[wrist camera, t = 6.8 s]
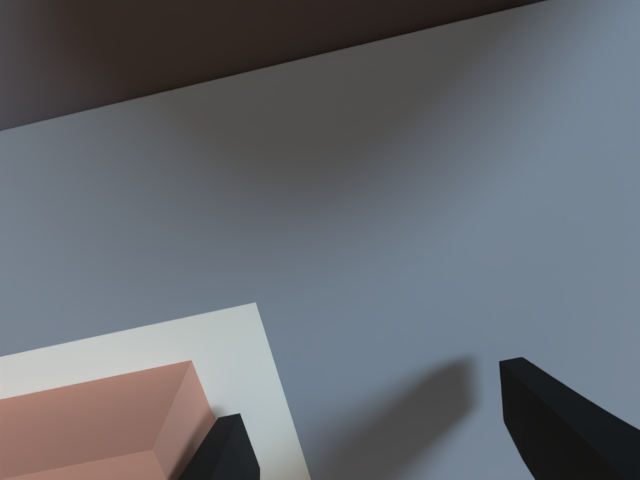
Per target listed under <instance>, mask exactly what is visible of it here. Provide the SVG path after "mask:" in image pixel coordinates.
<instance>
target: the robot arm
mask: <svg viewBox="0 0 640 480" xmlns="http://www.w3.org/2000/svg"><path fill="white" fill-rule="evenodd" d="M499 369H500V382H501V395H502V408H503V421H504V423H505V425H506V428H507V430H508V432H509V434H510V436H511V438H512V440H513V442H514V444H515V446H516V448H517V450H518V452H519V454H520V456H521V458H522V460H523V461H524V463H525V465H526V466H527V468H528V469H529V471H530V473H531V474H532V476H533V477H534V479H535V480H640V430H639V429H637V428H636V427H634V426H632V425H630V424H628V423H627V422H625V421H623V420H621V419H620V418H618V417H616V416H615V415H613V414H611V413H610V412H608V411H606V410H605V409H603V408H601V407H600V406H598V405H596V404H595V403H593V402H592V401H590V400H588V399H587V398H585V397H583V396H582V395H580V394H579V393H577V392H576V391H574V390H572V389H571V388H569V387H568V386H566V385H565V384H563V383H562V382H560V381H559V380H557V379H555V378H554V377H552V376H551V375H549V374H548V373H546V372H545V371H543V370H542V369H540V368H539V367H537V366H536V365H534V364H533V363H531V362H530V361H528V360H527V359H525V358H523V357H518V358H513V359H508V360H503V361H499ZM178 480H260V466H259V464H258V461H257V458H256V455H255V453H254V450H253V447H252V444H251V442H250V439H249V436H248V433H247V431H246V428H245V425H244V422H243V420H242V417H241V414H240V413H238V414H233V415H228V416H223V417H218V419H217V420H216V422H215V423H214V425H213V426H212V428H211V429H210V431H209V432H208V434H207V435H206V437H205V438H204V440H203V442H202V443H201V445H200V446H199V448H198V449H197V451H196V452H195V454H194V456H193V457H192V459H191V460H190V462H189V463H188V465H187V466H186V468H185V469H184V471H183V472H182V474H181V475H180V477H179V478H178Z"/></svg>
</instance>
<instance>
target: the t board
mask: <svg viewBox="0 0 640 480" xmlns="http://www.w3.org/2000/svg"><path fill="white" fill-rule="evenodd" d="M518 357H523V358H525V359H527V360H528V361H530V362H531V363H533V364H534V365H536V366H537V367H539V368H540V369H542V370H543V371H545V372H546V373H548V374H549V375H551V376H552V377H554V378H555V379H557V380H559V381H560V382H562V383H563V384H565V385H566V386H568V387H569V388H571V389H572V390H574V391H576V392H577V393H579V394H580V395H582V396H583V397H585V398H587V399H588V400H590V401H592V402H593V403H595V404H596V405H598V406H600V407H601V408H603V409H605V410H606V411H608V412H610V413H611V414H613V415H615V416H616V417H618V418H620V419H621V420H623V421H625V422H627V423H628V424H630V425H632V426H634V427H636V428H637V429H639V430H640V0H546V1H542V2H538V3H534V4H530V5H526V6H521V7H517V8H513V9H509V10H505V11H500V12H496V13H492V14H488V15H484V16H480V17H475V18H471V19H467V20H463V21H459V22H454V23H450V24H446V25H442V26H438V27H434V28H429V29H425V30H421V31H417V32H413V33H408V34H404V35H400V36H396V37H392V38H388V39H383V40H379V41H375V42H371V43H367V44H363V45H358V46H354V47H350V48H346V49H342V50H337V51H333V52H329V53H325V54H321V55H317V56H312V57H308V58H304V59H300V60H296V61H291V62H287V63H283V64H279V65H275V66H271V67H266V68H262V69H258V70H254V71H250V72H245V73H241V74H237V75H233V76H229V77H225V78H220V79H216V80H212V81H208V82H204V83H199V84H195V85H191V86H187V87H183V88H179V89H174V90H170V91H166V92H162V93H158V94H153V95H149V96H145V97H141V98H137V99H133V100H128V101H124V102H120V103H116V104H112V105H108V106H103V107H99V108H95V109H91V110H87V111H82V112H78V113H74V114H70V115H66V116H62V117H57V118H53V119H49V120H45V121H41V122H36V123H32V124H28V125H24V126H20V127H16V128H11V129H7V130H3V131H0V399H5V398H10V397H15V396H20V395H25V394H29V393H34V392H39V391H44V390H49V389H54V388H59V387H63V386H68V385H73V384H78V383H83V382H88V381H92V380H97V379H102V378H107V377H112V376H117V375H122V374H126V373H131V372H136V371H141V370H146V369H151V368H155V367H160V366H165V365H170V364H175V363H180V362H185V361H189V360H192V362H193V365H194V368H195V370H196V373H197V375H198V378H199V380H200V383H201V385H202V388H203V390H204V393H205V395H206V398H207V400H208V403H209V405H210V408H211V411H212V413H213V416H214V418H215V421H216V420H217V419H218V417H223V416H228V415H233V414H238V413H240V414H241V417H242V420H243V422H244V425H245V428H246V431H247V433H248V436H249V439H250V442H251V444H252V447H253V450H254V453H255V455H256V458H257V461H258V464H259V466H260V480H535V479H534V477H533V476H532V474H531V473H530V471H529V469H528V468H527V466H526V465H525V463H524V461H523V460H522V458H521V456H520V454H519V452H518V450H517V448H516V446H515V444H514V442H513V440H512V438H511V436H510V434H509V432H508V430H507V428H506V425H505V423H504V421H503V408H502V395H501V382H500V369H499V361H503V360H508V359H513V358H518Z"/></svg>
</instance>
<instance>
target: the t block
mask: <svg viewBox="0 0 640 480" xmlns="http://www.w3.org/2000/svg"><path fill="white" fill-rule="evenodd" d="M215 422H216V421H215V418H214V416H213V413H212V411H211V408H210V405H209V403H208V400H207V398H206V395H205V393H204V390H203V388H202V385H201V383H200V380H199V378H198V375H197V373H196V370H195V368H194V365H193V362H192V360H189V361H185V362H180V363H175V364H170V365H165V366H160V367H155V368H151V369H146V370H141V371H136V372H131V373H126V374H122V375H117V376H112V377H107V378H102V379H97V380H92V381H88V382H83V383H78V384H73V385H68V386H63V387H59V388H54V389H49V390H44V391H39V392H34V393H29V394H25V395H20V396H15V397H10V398H5V399H0V480H178V478H179V477H180V475H181V474H182V472H183V471H184V469H185V468H186V466H187V465H188V463H189V462H190V460H191V459H192V457H193V456H194V454H195V452H196V451H197V449H198V448H199V446H200V445H201V443H202V442H203V440H204V438H205V437H206V435H207V434H208V432H209V431H210V429H211V428H212V426H213V425H214V423H215Z"/></svg>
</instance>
